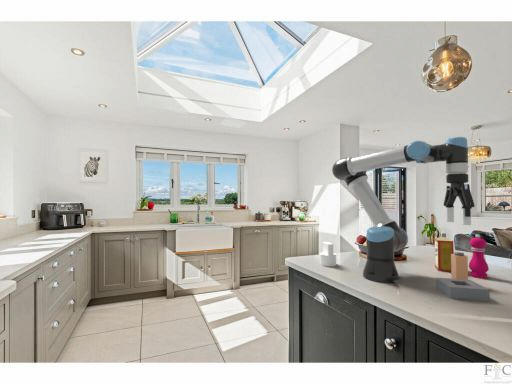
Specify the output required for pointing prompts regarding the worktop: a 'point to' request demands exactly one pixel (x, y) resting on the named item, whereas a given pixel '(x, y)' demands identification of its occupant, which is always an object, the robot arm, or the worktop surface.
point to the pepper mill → (478, 258)
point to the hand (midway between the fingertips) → (458, 223)
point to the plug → (459, 266)
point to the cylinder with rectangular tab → (327, 255)
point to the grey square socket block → (462, 289)
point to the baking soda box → (443, 254)
